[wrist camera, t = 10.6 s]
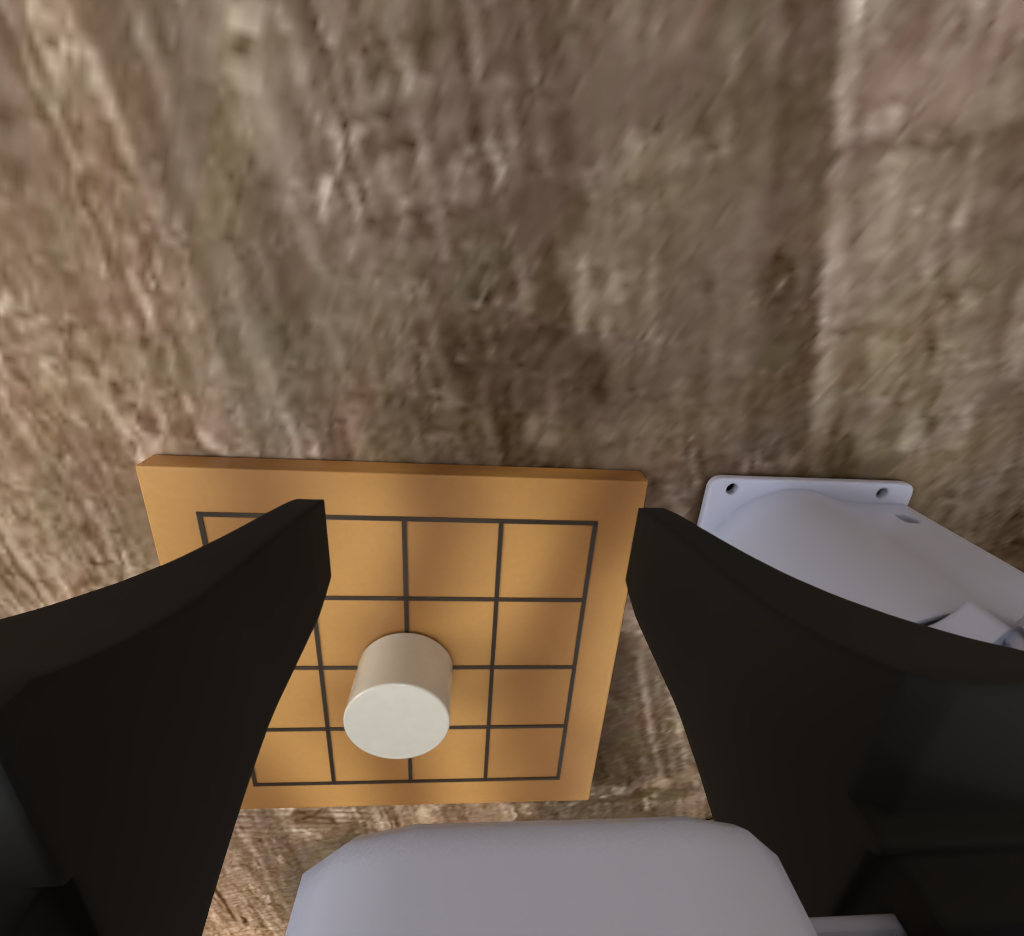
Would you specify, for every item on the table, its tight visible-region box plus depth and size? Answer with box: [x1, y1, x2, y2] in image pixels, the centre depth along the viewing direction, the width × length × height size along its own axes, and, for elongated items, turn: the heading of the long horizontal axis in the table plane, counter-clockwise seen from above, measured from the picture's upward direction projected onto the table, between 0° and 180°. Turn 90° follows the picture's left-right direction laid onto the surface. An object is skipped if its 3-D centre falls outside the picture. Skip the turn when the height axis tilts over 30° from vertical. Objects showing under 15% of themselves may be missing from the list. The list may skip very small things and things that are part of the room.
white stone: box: [343, 633, 453, 759], centre depth 22 cm, size 4×4×3 cm
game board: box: [136, 455, 648, 809], centre depth 24 cm, size 20×20×1 cm
